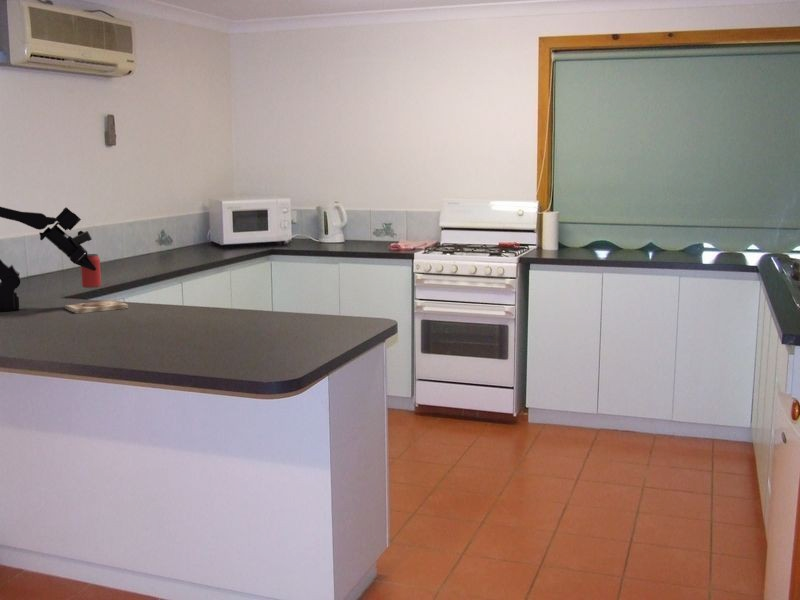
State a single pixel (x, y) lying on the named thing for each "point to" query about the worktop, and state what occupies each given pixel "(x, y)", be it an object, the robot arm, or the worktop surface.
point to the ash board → (96, 306)
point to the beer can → (91, 273)
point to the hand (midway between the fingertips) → (94, 269)
